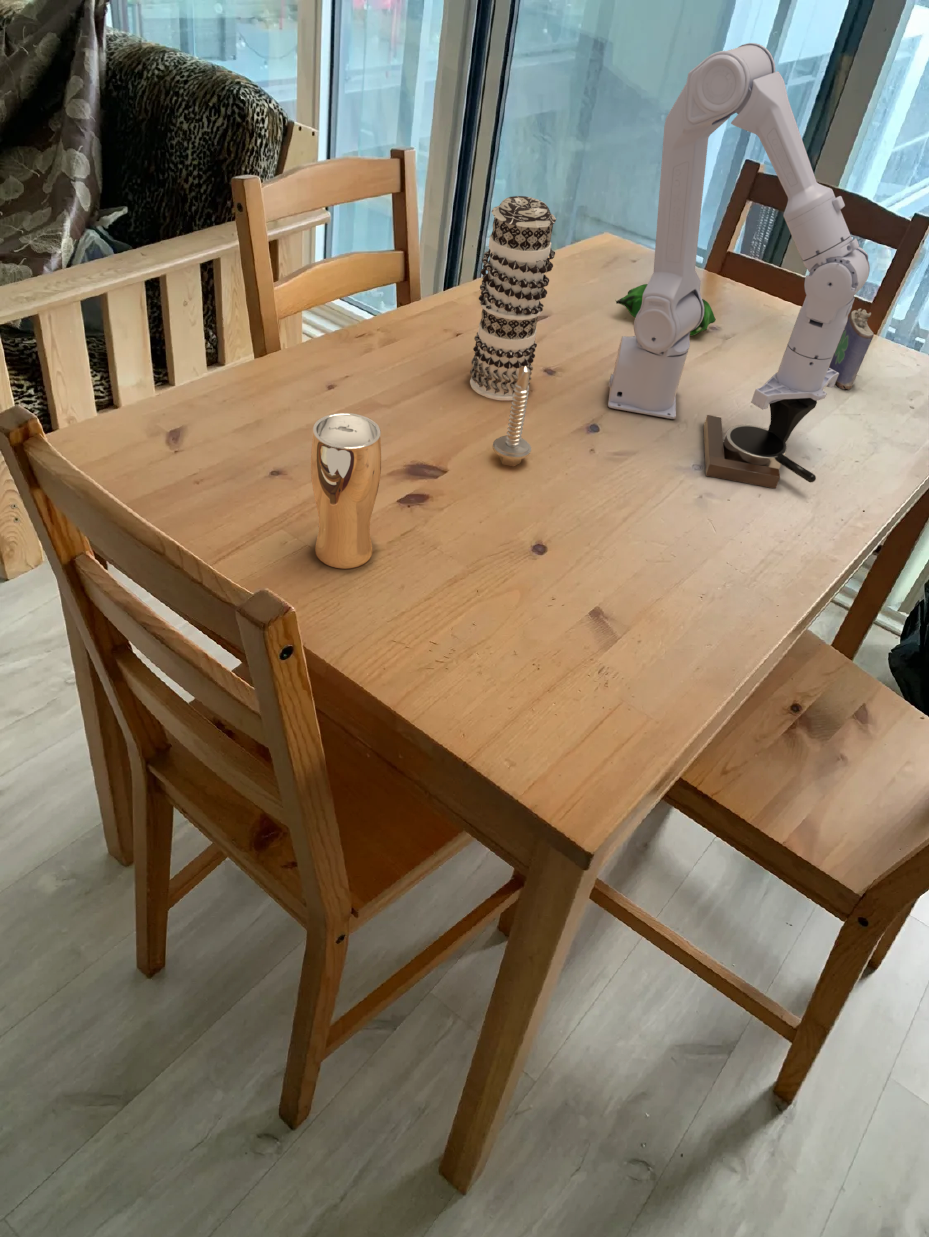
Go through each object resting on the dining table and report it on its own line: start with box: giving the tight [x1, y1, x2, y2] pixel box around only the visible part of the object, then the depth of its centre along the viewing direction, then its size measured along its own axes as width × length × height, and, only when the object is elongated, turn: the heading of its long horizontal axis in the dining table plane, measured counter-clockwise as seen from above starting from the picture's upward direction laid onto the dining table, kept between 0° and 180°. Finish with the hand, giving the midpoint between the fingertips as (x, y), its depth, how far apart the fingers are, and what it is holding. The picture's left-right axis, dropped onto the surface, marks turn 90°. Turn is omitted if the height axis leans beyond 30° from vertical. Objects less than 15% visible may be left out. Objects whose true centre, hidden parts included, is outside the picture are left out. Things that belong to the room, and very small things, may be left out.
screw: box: [492, 366, 532, 467], centre depth 113 cm, size 13×5×5 cm
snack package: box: [615, 283, 717, 337], centre depth 151 cm, size 7×16×5 cm, turn 65°
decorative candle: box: [469, 195, 557, 401], centre depth 123 cm, size 9×9×25 cm
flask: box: [829, 308, 875, 390], centre depth 142 cm, size 9×3×11 cm, turn 172°
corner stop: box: [703, 414, 781, 489], centre depth 123 cm, size 9×13×2 cm
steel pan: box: [723, 424, 817, 483], centre depth 121 cm, size 14×8×3 cm, turn 35°
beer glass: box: [310, 412, 382, 570], centre depth 95 cm, size 7×7×15 cm
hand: (774, 443), depth 125 cm, fingers closed, pressing on steel pan
